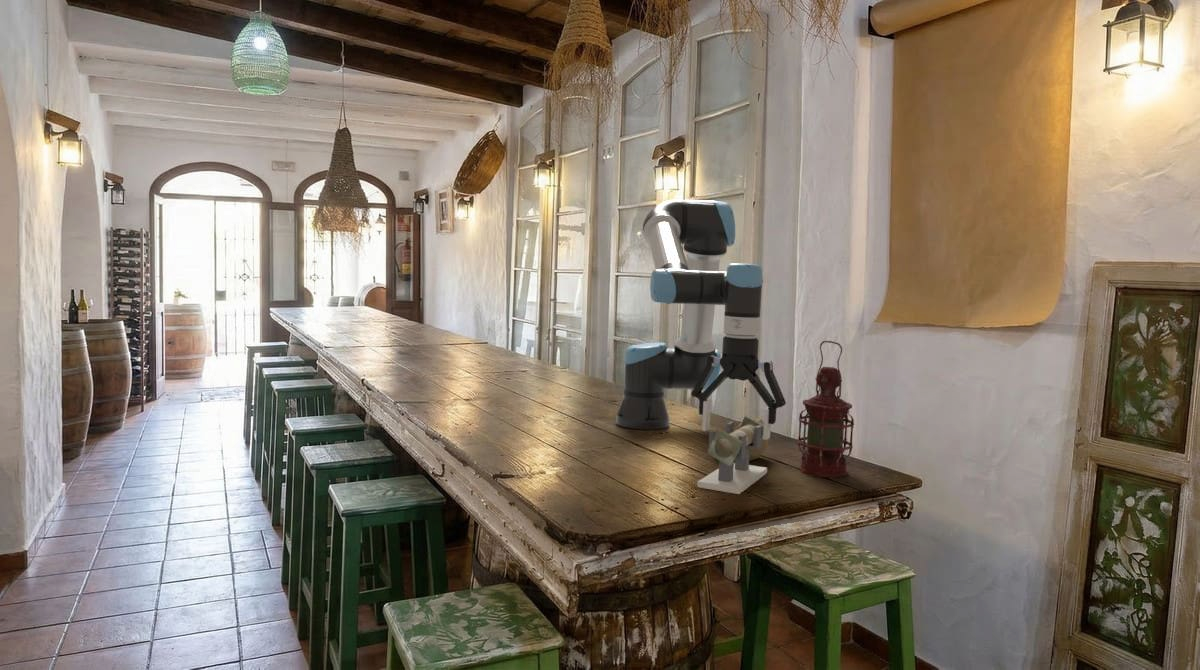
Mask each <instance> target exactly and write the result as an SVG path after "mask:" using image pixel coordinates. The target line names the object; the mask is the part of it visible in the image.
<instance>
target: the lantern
mask: <svg viewBox="0 0 1200 670" xmlns="http://www.w3.org/2000/svg"><path fill="white" fill-rule="evenodd" d="M825 343H827V344H828V343H830V344H834V345H837V346H839V348H840V351H839V352H840V354H839V355H838V359H837V361H836V363H837V368H836V367H835V366H834V367H833V366H823V362H824V356H823V351H822V345H823V344H825ZM819 351H820V357H821V360H820V365H819V368H818V370H817V373H816V377H815V381H816V384H815V391H816V395H815V396H813V397H810V398H809V399H804V400H802V405H803V406H804V407H805V409H803V410H801V411H800V413H799V416H798V421H799V423H798V424H799V425H798V427H799V428H798V437H797V446H798V450H799V451H800V452H801V454H802V455H801V457H800V458H801V463H800V466H799V471H800V472H802V473H803V474H806V475H810V476H814V477H818V478H819V477H820V478H831V479H832V478H833V479H834V478H835V479H836V478H842V477H845V476H847V474H848V471H847V459H848V458H849V457H850V456H851V454H852V451H853V448H854V447H853V433H854V432H853V430H854V426H855V420H854V417H853V416H852V415H850V409H852V408H853V404H852V403H850V402H846V401H845V400H843V399H842V398H841V396H842V382H843V380H842V374H841V370H840V363H839V362H840V359H841V356H842V353H843V347H842V345H841V344H840V343H839V342H835V341H832V340H822V341H821V342H820V344H819ZM837 389H838V390H837ZM836 390H837V391H836ZM804 412H806V414H805V415H804V416H803V415H802V414H803V413H804ZM849 417H850V419H851V420H850V419H849ZM848 423H849V424H848ZM802 424H803V437H801V435H802V433H801V429H802ZM848 428H850V438H849V441H848V440H847V431H848ZM806 430H807V432H806ZM806 433H807V434H806ZM847 445H848V446H847ZM801 448H802V449H801ZM806 448H807V449H806ZM847 450H849V451H848V454H847V456H845V455H844V453H845V451H847Z"/></svg>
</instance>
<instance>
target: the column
mask: <svg viewBox="0 0 1200 670" xmlns="http://www.w3.org/2000/svg"><path fill="white" fill-rule="evenodd" d="M753 418H754V417H751V416H749V415H745V416H744V417H743V420H742V424H741V426H740V428H739V429H738V430H736V431H734V432H732V433H730V434H728V433H726V432H724V431H722V430H721V429H719V428H718V429H719V430H718V429H717V432H716V434H715V436H714V439H713V441H712V443H711V445H710V448H709V447H708V449H709V450H708V449H707V453H706V454H707V455H708V454H709V455H711V456H710V457H713V458H714V459H716V460H718V461H719V460H720V461H722V462H723V463H725V464H727V465H729V466H731V465H733V462H734V463H735V458H736V456H737V454H738V451H739V449H740V447H741V445H742V443H743V441H741V440H739V436H740V435H742V434H747V437H746V446H747V445H749V444H751V443H754V428H755V427H756V426H758V425H760V426H762V431H761V441H762V439H763V430H764V424H762V423H760V422H758V421H756V420H754V419H753Z"/></svg>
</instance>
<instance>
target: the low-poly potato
mask: <svg viewBox="0 0 1200 670" xmlns="http://www.w3.org/2000/svg"><path fill="white" fill-rule="evenodd" d="M752 418H753V419H754V420H756V421H758V422H760V423H762V424H764V420H763V419H762V418H755V417H752ZM742 422H743V421H742ZM742 422H740V423H739V424H738V425H737V426H736V425H735V426H734V430H733V432H734V431H736V430H738V429H739V428H740V426H741V424H742ZM719 429H721V430H722V431H724V432H726V425H725V426H724V425H721V426H720V427H719V428H718V429H717V430H719ZM769 442H770V438H769V439H767V440H763V439H762V441H761V448H760V449H758V450H751V449H750V452H749V462H750V461H753V460H756V459H758V458H760V456H761V455H763V454H764V452H765V451H766V450H767V447H768V444H769Z"/></svg>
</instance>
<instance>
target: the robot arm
mask: <svg viewBox="0 0 1200 670" xmlns="http://www.w3.org/2000/svg"><path fill="white" fill-rule="evenodd" d="M643 220H644V221H643V224H642V235H643V239H644V241H645V242H646V244H647V245H648V246H649V247H650V251H651V256H652V259H653V263H654V268H655V269H654V270H652V272H651V275H650V286H649V291H650V298H651V300H652V301H653V302H654V303H659V304H661V303H663V304H667V305H671V304H680V305H682V304H683V309H682V321H681V331H680V337H678V338H677V339H676V340H675V341H674V347H668V345H667V343H665V342H645V343H643V342H642V343H638V344H633V345H631V346H628V347H627V348H626V350H625V355H624V356H625V357H624V361H623V362H624V363H623V365H624V376H623V396H622V400H621V403H620V405H619V408H618V410H617V414H616V417H615V418H616V419H615V420H616V421H615V423H616V425H617V426H620V427H623V428H627V429H628V428H629V429H635V430H660V429H661V430H662V429H666V428H668V427H669V426H670V415H669V412H668V409H667V405H666V401H665V391H666V390H692V391H691V393H690V394H691V396H692V397H693V398H694V397H695V398H696V399H698V402H699V405H698V414H699V415H701V416H702V425H701V426H702V427H701V431H702V432H706V431H708V430H710V429H711V428H710V427H711V425H710V424H711V409H712V408H711V407H712V400H711V399H709V397H710V396H711V395H712V394H713V393H714V392H715V391H716V390H717V389H718V388H719V386H721V384H723V383H724V382H725V380H726V379H728V378H729V379H730V380H740V381H744V382H745V381H748V382H749V383H750V384H751V385H752V386H753V388H754V389H755V390H756V392H757V393H758V395H759V396H760V397H761V399H762V401H763V402H764V403H765V405H766V406H767V407H765V408H764V416H763V422H764V430H763V440H767V439H769V440H770V438H771V431H772V429H771V428H772V427H771V426H772V425H774V424H775V423H776V420H777V409H778V408H779V409H780V408H782V407H784V406H785V405H786V403H787V402H786V399H785V397H784V395H783V392H782V390H781V388H780V385H779V382H778V380H777V377H776V376H775V373H774V368H773V367H774V365H773V361H772V360H768V361H759V345H760V343H759V341H760V339H759V338H758V336H759V335H760V323H761V305H762V291H763V290H762V288H763V284H764V280H763V267H762V266H761V265H760V264H756V263H734V262H733V263H732V262H731V263H729V264H728V265H727V268H726V270H725V271H723V270H722V271H720V263H721V258H722V257H724V256H725V255H726V254H727V252H728V249H727V248H728V247H732V246H733V245H734V244H735V241H736V220H735V215H734V210H733V208H732V206H731V205H730V203H728V202H726V201H718V200H713V199H712V200H707V199H706V200H705V199H704V200H703V199H701V200H700V199H696V200H695V199H669V200H666V201H665V200H664V201H663V202H661V203H659V204H657V205H656V206H655V207H653V208H652V209H651V210H650V211H649V212H648V213H647V215H646V217H645V219H643ZM682 245H683V246H682ZM685 253H686V254H687V259H686V255H685ZM717 305H718V306H724V315H723V334H725V336H723V338H722V351H721V352H720V351H719V350H718V349H717V345H716V344H715V342H714V341H713V340H712V338H713V337H712V336H713V327H714V317H715V307H716V306H717ZM721 353H722V355H721ZM721 368H722V371H721ZM759 369H761V370H760V371H761V372H763V373H764V377H765V379H766V381H767V384H768V386H769V389H770V392H771V393H772V395H771V393H770V392H769V390H768V389H767V388H766V386H765V385H764V383H763V382H762V381H761V379H760V377H759V376H758V373H756V372H757V370H759ZM720 371H721V372H720Z"/></svg>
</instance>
